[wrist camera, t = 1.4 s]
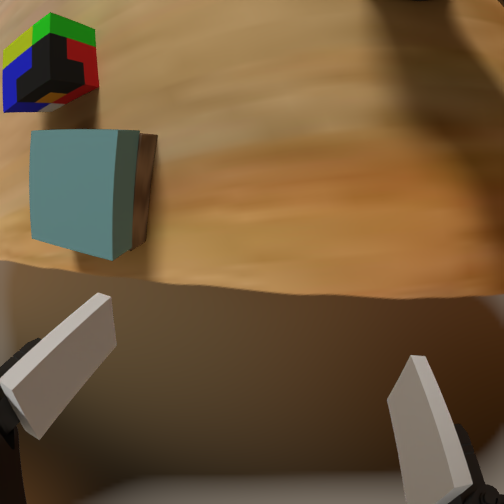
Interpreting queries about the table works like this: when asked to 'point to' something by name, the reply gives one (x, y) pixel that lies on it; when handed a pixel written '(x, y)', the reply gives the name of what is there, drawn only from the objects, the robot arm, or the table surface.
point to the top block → (83, 189)
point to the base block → (142, 187)
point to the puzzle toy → (49, 65)
